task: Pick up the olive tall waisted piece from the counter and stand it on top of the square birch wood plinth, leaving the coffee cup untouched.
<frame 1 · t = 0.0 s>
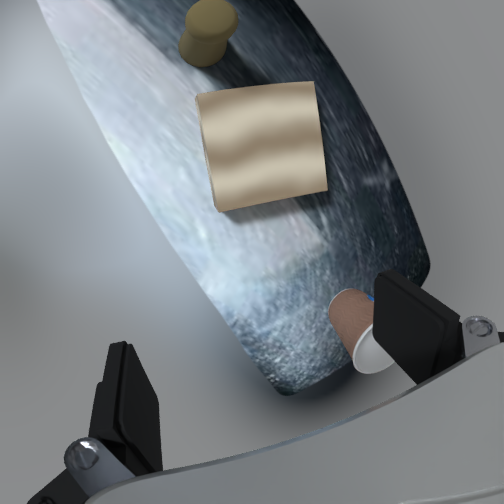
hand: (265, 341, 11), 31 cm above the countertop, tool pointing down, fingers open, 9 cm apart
olive tall waisted piece: (202, 46, 33), on the countertop
birch plinth: (258, 142, 39), on the countertop
coffee cup: (345, 305, 52), on the countertop
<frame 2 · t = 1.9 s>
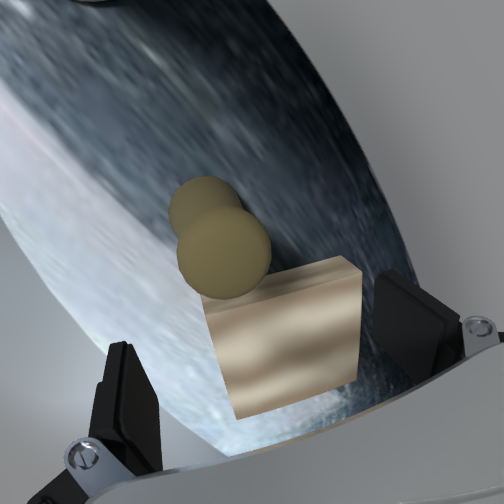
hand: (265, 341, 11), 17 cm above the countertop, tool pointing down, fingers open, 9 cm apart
olive tall waisted piece: (205, 211, 26), on the countertop
birch plinth: (281, 332, 32), on the countertop
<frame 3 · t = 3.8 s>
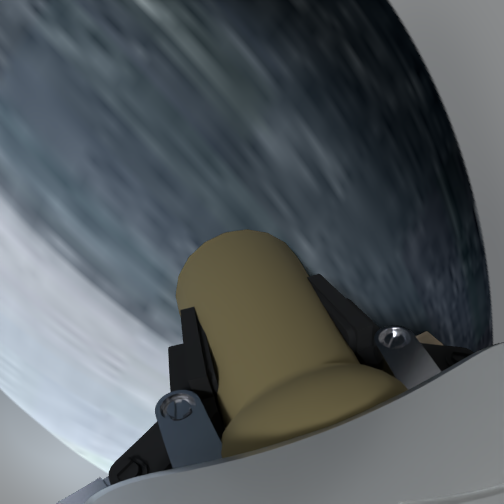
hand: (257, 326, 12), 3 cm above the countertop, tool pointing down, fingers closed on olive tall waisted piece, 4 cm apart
olive tall waisted piece: (241, 291, 15), on the countertop, touching gripper
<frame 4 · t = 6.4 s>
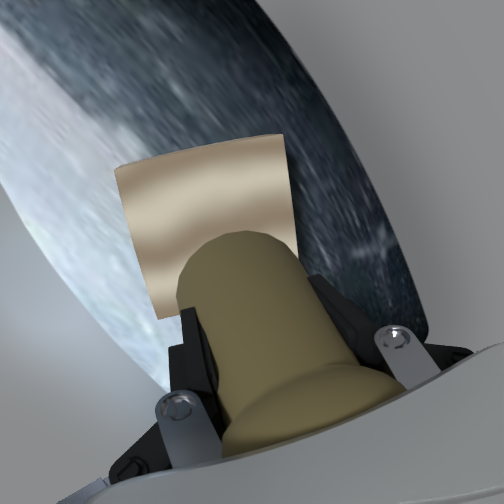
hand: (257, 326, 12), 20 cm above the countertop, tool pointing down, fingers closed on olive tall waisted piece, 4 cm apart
olive tall waisted piece: (241, 292, 15), point 17 cm above the countertop, touching gripper
birch plinth: (209, 219, 30), on the countertop
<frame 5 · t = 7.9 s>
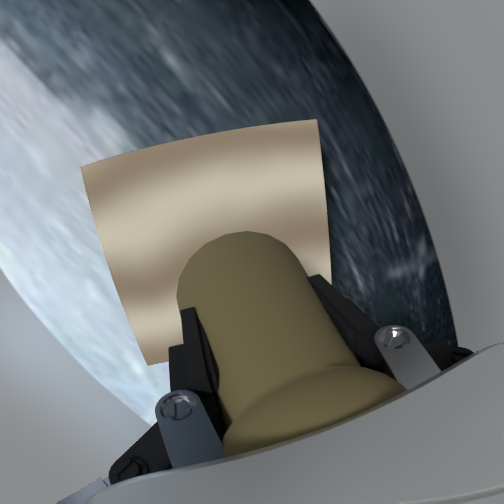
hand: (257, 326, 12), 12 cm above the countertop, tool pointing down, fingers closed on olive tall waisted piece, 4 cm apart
olive tall waisted piece: (241, 292, 15), point 9 cm above the countertop, touching gripper
birch plinth: (214, 233, 23), on the countertop
when the fingers open (8 cm above the countertop, at t = 9.0 s): olive tall waisted piece drops 1 cm, resting on birch plinth.
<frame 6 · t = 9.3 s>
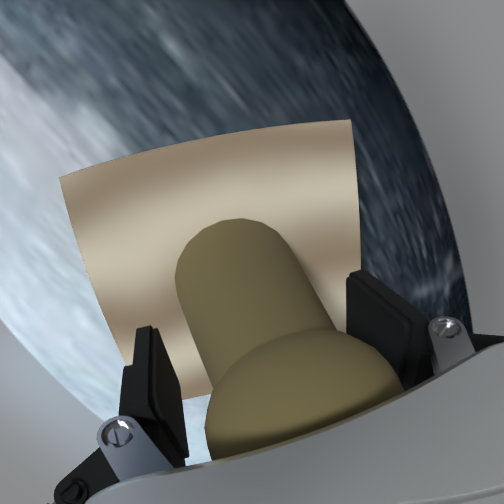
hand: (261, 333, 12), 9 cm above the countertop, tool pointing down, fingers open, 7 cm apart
olive tall waisted piece: (235, 276, 16), point 4 cm above the countertop, touching birch plinth
birch plinth: (223, 254, 19), on the countertop
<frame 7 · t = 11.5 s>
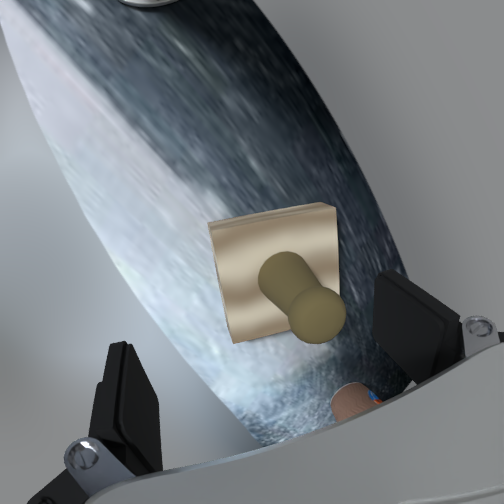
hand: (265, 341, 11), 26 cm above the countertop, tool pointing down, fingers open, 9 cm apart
olive tall waisted piece: (283, 276, 36), point 4 cm above the countertop, touching birch plinth
birch plinth: (273, 266, 40), on the countertop
coffee cup: (346, 395, 51), on the countertop
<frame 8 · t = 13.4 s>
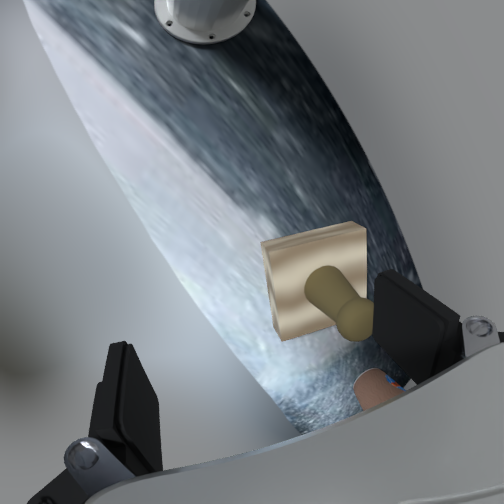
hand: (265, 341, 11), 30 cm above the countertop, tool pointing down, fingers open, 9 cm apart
olive tall waisted piece: (323, 285, 43), point 4 cm above the countertop, touching birch plinth
birch plinth: (312, 275, 47), on the countertop
coffee cup: (366, 379, 59), on the countertop
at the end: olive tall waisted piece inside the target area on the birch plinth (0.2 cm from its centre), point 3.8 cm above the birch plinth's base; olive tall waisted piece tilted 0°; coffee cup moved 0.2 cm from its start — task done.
